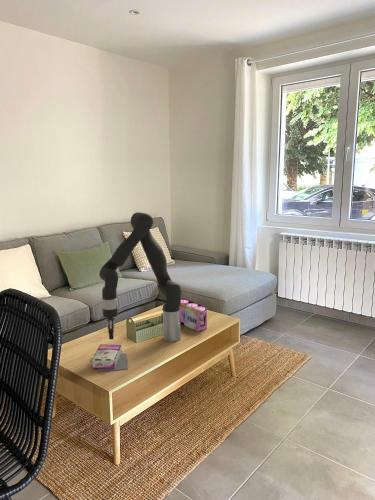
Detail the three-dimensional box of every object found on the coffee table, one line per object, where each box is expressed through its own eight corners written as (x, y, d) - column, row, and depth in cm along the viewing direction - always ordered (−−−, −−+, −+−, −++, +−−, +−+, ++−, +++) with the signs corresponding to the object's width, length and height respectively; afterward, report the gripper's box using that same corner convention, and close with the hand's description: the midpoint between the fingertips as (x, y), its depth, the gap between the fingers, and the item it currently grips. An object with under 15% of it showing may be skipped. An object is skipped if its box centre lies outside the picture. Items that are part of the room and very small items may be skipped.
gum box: (208, 329, 232) (209, 307, 229) (198, 332, 227) (198, 310, 224) (184, 317, 250) (184, 297, 247) (174, 320, 245) (174, 300, 243)
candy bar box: (100, 353, 201) (91, 368, 185) (100, 344, 200) (91, 358, 184) (122, 353, 201) (114, 369, 185) (121, 344, 200) (114, 359, 184)
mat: (126, 353, 201) (126, 353, 201) (127, 369, 186) (127, 368, 185) (98, 356, 198) (98, 355, 198) (97, 372, 183) (97, 371, 183)
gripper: (117, 310, 189) (119, 343, 192) (117, 301, 201) (118, 332, 205) (102, 311, 187) (103, 345, 191) (102, 302, 200) (104, 334, 203)
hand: (111, 338), depth 198 cm, fingers closed
